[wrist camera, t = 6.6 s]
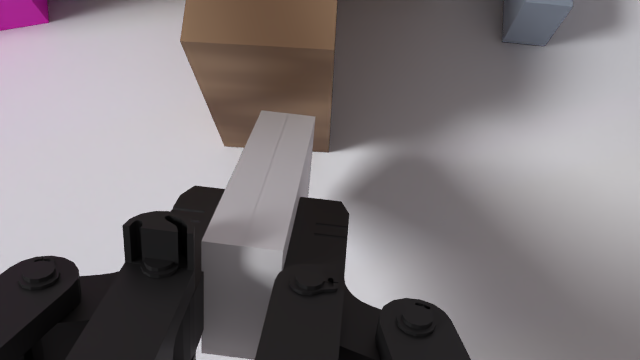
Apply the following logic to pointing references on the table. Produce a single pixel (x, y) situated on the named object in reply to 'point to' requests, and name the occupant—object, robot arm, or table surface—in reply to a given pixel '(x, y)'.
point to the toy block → (22, 13)
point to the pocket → (533, 20)
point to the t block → (262, 61)
